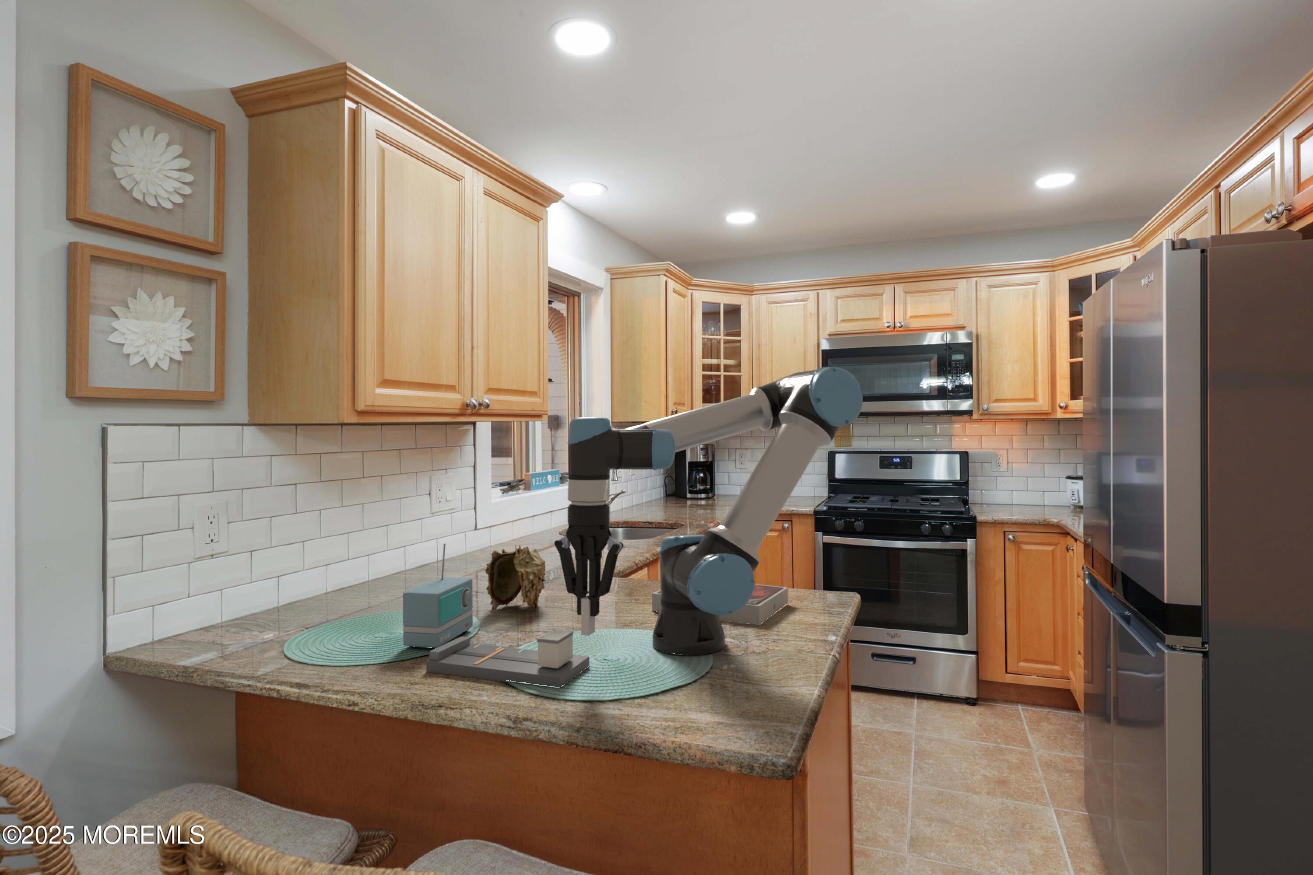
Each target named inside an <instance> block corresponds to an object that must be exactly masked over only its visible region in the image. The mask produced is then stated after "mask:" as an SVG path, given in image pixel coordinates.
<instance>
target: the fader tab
mask: <svg viewBox="0 0 1313 875" xmlns="http://www.w3.org/2000/svg"><path fill="white" fill-rule="evenodd" d="M573 636H574V630H566V629H565V630H563V629H551V630H549V631H547V632H546V633H544V634H542V635H541V636H539V637H537V639H536V643H537V651H538V666H543V667H551V668H559V667H560V666H562V665H563V664H565V663H566V662H568V661H569V660H571V659H572V658H573V655H574V651H573V650H574V646H573V645H574V641H573V640H574V639H573Z"/></svg>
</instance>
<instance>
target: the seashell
mask: <svg viewBox="0 0 1313 875" xmlns="http://www.w3.org/2000/svg"><path fill="white" fill-rule="evenodd" d="M514 546H515V549H514V550H515V551H506V550H505V549H504V548H502V550H501V552H499V551H497V550H494V551H492V553H491V560H490V562H489V563H486V565H485V566H486V569H484V572H485V574H486V575H488V576H487V582H488V585H487V586H486V590H487V594H488V595H489V597H490V599H491V601H490V605H491V611H497V609H498V607H499V606H506V607H508V605H510V603H512V602H513V601H514V600H515V599H516V598H517V596H519V594H520V592H521V597H522V598H523V599H522V604H524V603H526V604H527V606H528V607H531V608H534V611H535V612H536V611H537V608H538V605H539V597H540V595H541V593H542V590H544V589H545V586H546V585H545V584H544V582H547V580H546V579H545V578H546V577H545V576H546V561H545V560H544V559H543V557H542V556H541V555H540V554H539V552H538V549H536V548H534V549H533V550H530V549H529V547H528V546H524V547H523V548H521V547H522V546H521V544H519V545H518V547H517V544H515V545H514Z"/></svg>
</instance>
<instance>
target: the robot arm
mask: <svg viewBox="0 0 1313 875" xmlns="http://www.w3.org/2000/svg"><path fill="white" fill-rule="evenodd" d="M861 388H862V387H861V386H860V383H859V381H858V380H857V378H856V377H855V376H854V375H853V374H852V373H851V372H849V370H846V369H844V368H842V367H838V366H822V367H819V368H817V369H813V370H812V369H811V370H806V371H799V372H795V373H792V374H789V375H786V376H784V377H782V378H780V379H777V380H775V381H772V382H769V383H766V384H764V385H760V386H757V387H754V388H752V389H751V390H750V392H749V394H746V395H742V396H739V397H735V398H732V399H728V400H723V401H721V402H717V403H713V404H710V405H706V406H702V407H699V408H695V409H692V410H688V411H684V412H680V413H676V414H673V415H670V416H666V417H663V418H659V419H655V420H651V421H647V422H645V423H642V424H638V425H634V426H630V427H626V428H614V427H613V428H612V425H611V420H610V419H609V418H608V417H594V416H593V417H590V416H589V417H587V416H586V417H583V416H582V417H574V418H572V419H571V420H570V422H569V428H568V439H567V440H568V441H567V445H568V446H567V450H568V451H567V454H568V455H567V456H568V457H567V460H568V461H567V463H568V464H567V465H568V467H567V468H568V470H567V471H568V472H567V474H568V476H567V477H568V482H567V484H568V486H567V500H568V502H570V503H569V505H567V523H568V525H567V526H568V528H567V529H566V533H565V535H564V536H563V537H561V538H560V539H557V540H554V542H553V543H554V546H555V548H556V551H557V553H558V556H559V559H560V564H561V567H562V568H561V570H562V573H563V574H562V575H563V578H564V582H565V588H566V592H567V594H572V595H574V596H575V597H576V614H577V615H578V616H580V635H581V636H586V637H587V636H588V637H589V636H591V635H592V634H594V633H596V616H599V614H600V598H601V597H603V596H605V595H608V594H609V593H610V591H611V588H612V587H611V586H612V583H613V578H614V573H615V569H616V565H617V561H618V557H619V554H620V552H621V551H622V549H623V548H624V543H623V542H622V541H619V542H618V541H617V540H616V539H615V538H613V537H612V532H611V529H610V517H611V516H610V505H609V504H608V503H607V502H609V501H610V495H611V494H610V493H611V492H610V484H611V483H610V479H611V478H610V477H611V470H614V471H615V470H634V471H635V470H641V471H642V470H644V471H645V470H653V471H657V470H667V469H669V468H670V467H671V466H672V465H673V463H674V461H675V456H676V453H678V452H681V451H684V450H688V449H691V448H695V447H699V446H701V445H705V444H709V443H712V442H716V441H719V440H722V439H725V438H729V437H733V436H737V435H739V434H744V433H746V432H750V431H754V430H757V429H760V430H761V431H762V432H763V431H764V432H767V431H770V430H774V429H778V430H777V432H775V435H773V438H772V439H771V441H770V443H769V445H768V446H767V448H766V449H765V451H764V453H763V454H762V456H761V458H760V459H759V461H758V463H757V464H756V466H755V467H754V469H753V471H752V472H751V474H750V475H749V477H748V479H747V480H746V482H745V484H744V485H743V487H742V489H741V490H740V492H739V493H738V495H737V497H736V498H735V500H734V502H732V505H731V506H730V508H729V510H728V511H727V513H726V514H725V516H724V518H723V520H722V521H721V523H720V524H719V526H716V527H711V528H708V529H707V530H706V532H705V533H704V534H686V535H673V536H672V535H669V536H664V537H663V538H662V539H661V541H660V548H659V549H660V550H659V551H658V552H659V556H660V557H659V561H660V562H659V563H660V564H659V565H660V566H659V568H660V572H659V573H660V576H659V577H660V590H661V608H660V612H658V616H657V619H656V622H655V624H654V625H655V626H654V629H653V632H652V646H654V647H655V648H654V649H656V648H657V649H658V650H657V649H656V650H657V651H659V650H661V651H660V652H662V651H664V652H663V653H665V652H667V653H666V654H669V653H675V654H682V655H681V656H701V654H704V655H708V654H707V653H710V654H713V653H717V652H719V651H721V650H723V649H724V648H725V646H726V644H725V643H726V637H725V636H726V635H725V631H724V628H723V626H722V621H720V619H719V616H718V615H728V614H732V613H734V612H736V611H738V610H740V609H741V608H742V607H744V606H745V605H746V604H747V602H748V601H749V600H750V598H751V596H752V594H753V591H754V587H755V584H756V581H755V571H756V569H757V568H758V566H759V564H760V561H761V560H760V555H759V552H758V551H759V548H760V546H762V543H763V542H764V539H765V538H766V536H767V535H768V533H769V531H770V530H771V527H772V526H773V525H774V524H775V521H776V519H777V518H778V516H779V515H780V513H781V512H782V510H783V509H784V506H785V505H786V503H787V501H788V500H789V498H790V496H791V494H792V493H793V491H794V489H795V488H796V486H797V485H798V483H799V481H800V479H801V478H802V477H803V475H804V473H805V471H806V470H807V468H808V467H809V464H810V462H811V461H812V460H813V458H814V457H815V455H816V453H817V451H818V449H819V448H821V447H824V446H829V445H830V444H831V442H832V441H833V440H834V438H835V436H836V435H837V433H838V431H839V430H840V428H842V427H846V426H849V425H850V424H852V423H853V422H854V421H856V419H858V417H859V415H860V414H861V411H862V408H863V401H864V400H863V398H864V397H863V394H862V389H861ZM606 546H607V548H606V549H607V551H608V552H607V554H606V556H605V561H604V566H603V570H602V569H601V568H602V565H601V564H602V562H601V561H602V558H603V557H602V556H603V551H604V549H605V547H606ZM571 547H572V549H573V550H574V558H575V564H574V558H573V554H572V550H571ZM601 570H602V573H601ZM675 654H674V655H675Z"/></svg>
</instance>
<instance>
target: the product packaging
mask: <svg viewBox="0 0 1313 875" xmlns="http://www.w3.org/2000/svg"><path fill="white" fill-rule="evenodd" d="M787 603H788V604H789V587H787V586H786V587H785V586H775V585H766V584H757V583H755V587H754V591H753V594H752V596H751V598H750V600H749V601H748V602H747V604H746V605H745V606H744V607H742V608H741V609H740V610H738V611H736V612H734V613H732V614H728V615H718V616H719V619H720V620H721V621H720V622H728V621H731V623H735V622H742V623H741V624H743V623H749V624H748V625H750V624H755V625H754V626H758V625H759V626H761V625H762V624H763V623H762V622H764V621H765V620H766V619H767V618H769V617H770V616H771V615H773V614H774V613H775V612H776V611H778V610H779V609H780V608H782V607H783V606H784V605H785V604H787ZM660 608H661V589H659V590H657V591H654V592H652V593H651V612H652V611H657V612H656V613H659V612H660ZM773 616H774V615H773ZM769 619H770V618H769ZM766 621H767V620H766ZM766 621H765V622H766ZM765 622H764V623H765ZM761 623H762V624H761ZM760 624H761V625H760Z"/></svg>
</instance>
